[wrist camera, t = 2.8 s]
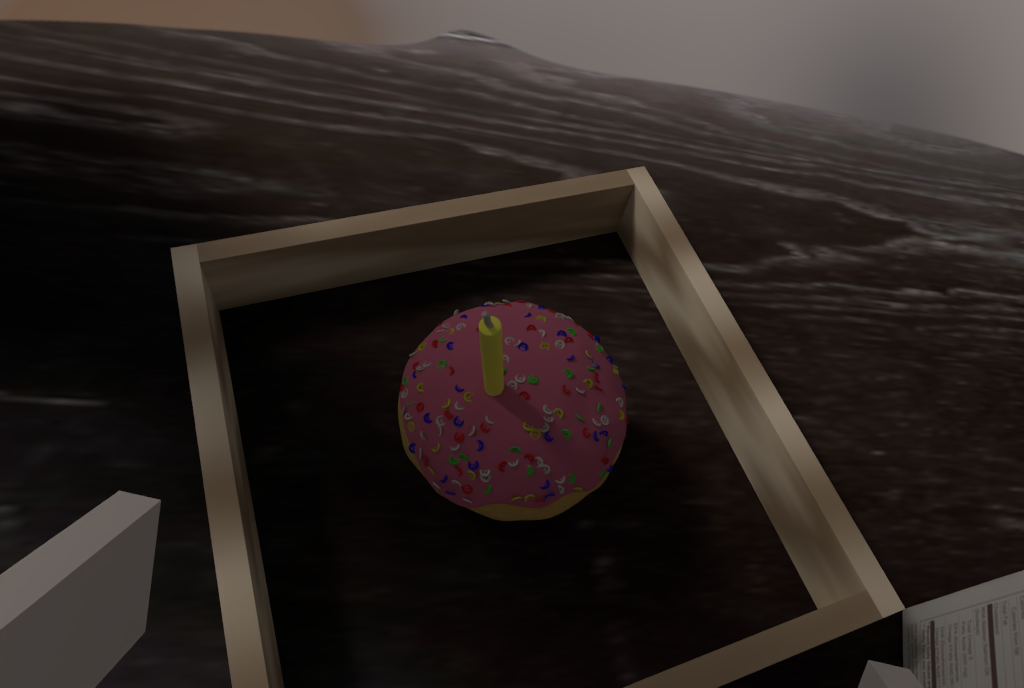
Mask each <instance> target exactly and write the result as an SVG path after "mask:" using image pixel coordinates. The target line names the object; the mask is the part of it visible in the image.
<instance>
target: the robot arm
mask: <svg viewBox="0 0 1024 688" xmlns="http://www.w3.org/2000/svg"><path fill="white" fill-rule="evenodd" d="M160 504H161V500H158V499H154V498H150V497H145V496H141V495H136V494H132V493H127V492H123V491H118V492H117V493H115V494H114V495H113V496H111V497H110V498H108V499H107V500H106V501H104V502H103V503H101V504H100V505H98V506H97V507H96V508H94V509H93V510H91V511H90V512H89V513H87V514H86V515H84V516H83V517H82V518H80V519H79V520H77V521H76V522H74V523H73V524H72V525H70V526H69V527H67V528H66V529H65V530H63V531H62V532H60V533H59V534H57V535H56V536H55V537H53V538H52V539H50V540H49V541H48V542H46V543H45V544H43V545H42V546H40V547H39V548H38V549H36V550H35V551H33V552H32V553H31V554H29V555H28V556H26V557H25V558H23V559H22V560H21V561H19V562H18V563H16V564H15V565H14V566H12V567H11V568H9V569H8V570H6V571H5V572H4V573H2V574H1V575H0V688H95V687H96V686H97V685H98V683H99V682H100V681H101V680H102V679H103V678H104V677H105V676H106V675H107V673H108V672H109V671H110V670H111V669H112V668H113V667H114V666H115V665H116V664H117V662H118V661H119V660H120V659H121V658H122V657H123V656H124V655H125V654H126V652H127V651H128V650H129V649H130V648H131V647H132V646H133V645H134V644H135V642H136V641H137V640H138V639H139V638H140V637H141V636H142V635H143V634H144V632H145V628H146V620H147V611H148V603H149V595H150V587H151V578H152V570H153V562H154V554H155V545H156V537H157V529H158V521H159V512H160ZM858 688H924V687H923V686H922V685H921V684H920V682H919V681H918V680H917V678H916V677H915V676H914V674H913V673H912V672H911V671H910V669H906V668H902V667H898V666H893V665H889V664H884V663H880V662H875V661H871V660H868V662H867V665H866V668H865V670H864V673H863V675H862V678H861V681H860V683H859V686H858Z"/></svg>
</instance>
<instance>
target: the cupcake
mask: <svg viewBox="0 0 1024 688" xmlns="http://www.w3.org/2000/svg"><path fill="white" fill-rule="evenodd" d="M502 301H503V302H505V303H495V304H493V303H492V302H486V303H485V304H484V305H481V307H477V308H473V309H470V310H467V311H464V312H461V313H459V310H455V312H454V316H452V317H451V318H449V319H447V320H445V321H444V322H442V323H440V324H438V326H437V327H436V328H435V329H434V330H433V331H432V332H431V333H430V334H429V336H428V337H427V338H426V339H425V340H424V341H423V342H422V343H421V344H420V345H419V347H418V348H417V349H416V350H415V352H413V353H411V354H410V355H409V356H411V357H410V359H409V360H408V362H407V364H406V367H405V370H404V373H403V378H402V384H401V386H400V393H399V400H398V419H399V426H400V431H401V437H402V442H403V446H404V449H405V452H406V454H407V456H408V457H409V459H410V460H411V462H412V463H413V464H414V465H415V466H416V468H417V469H418V470H419V471H420V472H421V473H422V475H423V476H424V477H425V478H426V479H427V481H428V482H429V483H430V485H431V486H432V487H433V489H434V490H435V491H436V492H437V493H439V494H440V495H442V496H443V497H445V498H447V499H448V500H450V501H451V502H453V503H455V504H457V505H460V506H462V507H466V508H468V509H470V510H472V511H474V512H476V513H479V514H481V515H484V516H486V517H489V518H491V519H495V520H500V521H515V520H542V519H547V518H551V517H554V516H556V515H558V514H560V513H562V512H564V511H566V510H567V509H569V508H570V507H572V506H573V505H575V504H577V503H578V502H579V501H581V500H582V499H583V498H584V497H585V496H587V495H588V494H589V493H591V492H592V491H594V490H596V489H597V488H599V487H600V486H601V485H602V484H603V483H604V481H605V480H606V478H607V476H608V474H609V473H610V472H611V471H612V470H613V465H614V463H615V462H616V460H617V458H618V456H619V454H620V451H621V448H622V444H623V441H624V439H625V435H626V427H627V424H628V423H629V422H628V418H627V416H626V398H625V392H624V388H625V389H627V388H626V387H625V386H623V384H622V381H621V378H620V376H619V372H618V370H617V369H618V367H616V366H615V365H613V360H612V358H611V357H610V356H608V355H607V353H606V352H605V351H604V349H603V348H602V347H601V345H600V344H599V343H600V338H599V337H598V336H597V335H595V336H594V338H593V336H592V335H591V334H590V333H588V332H587V331H585V330H584V329H583V328H582V327H581V326H579V325H578V324H577V323H575V322H574V321H573V319H572V318H570V317H568V316H567V317H566V316H565V315H563V314H561V313H557V312H554V311H552V310H550V309H546V308H545V307H544V306H542V305H539V306H538V305H535V304H532V303H529V302H525V301H517V302H509V301H506V300H502ZM486 304H488V305H486ZM490 304H491V305H490ZM456 312H457V313H456ZM455 314H456V315H455ZM596 337H597V339H596ZM597 340H598V342H597Z"/></svg>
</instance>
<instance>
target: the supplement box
mask: <svg viewBox="0 0 1024 688" xmlns="http://www.w3.org/2000/svg"><path fill="white" fill-rule="evenodd" d="M903 668H906V669H910V671H911V672H912V673H913V674H914V676H915V677H916V678H917V680H918V681H919V682H920V684H921V685H922V686H923V687H924V688H1024V570H1023V571H1020V572H1017V573H1014V574H1010V575H1007V576H1004V577H1001V578H998V579H995V580H992V581H989V582H986V583H983V584H980V585H977V586H974V587H971V588H968V589H965V590H961V591H958V592H955V593H952V594H949V595H946V596H943V597H940V598H937V599H934V600H931V601H928V602H925V603H921V604H918V605H915V606H912V607H909V608H906V609H904V610H903Z"/></svg>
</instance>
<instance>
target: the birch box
mask: <svg viewBox="0 0 1024 688" xmlns="http://www.w3.org/2000/svg"><path fill="white" fill-rule="evenodd" d="M616 231H617V233H618V235H619V237H620V238H621V240H622V242H623V244H624V246H625V248H626V250H627V252H628V253H629V255H630V257H631V259H632V261H633V263H634V265H635V267H636V268H637V270H638V272H639V274H640V276H641V278H642V280H643V282H644V283H645V285H646V287H647V289H648V291H649V293H650V295H651V297H652V299H653V300H654V302H655V304H656V306H657V308H658V310H659V312H660V314H661V315H662V317H663V319H664V321H665V323H666V325H667V327H668V329H669V330H670V332H671V334H672V336H673V338H674V340H675V342H676V344H677V345H678V347H679V349H680V351H681V353H682V355H683V357H684V359H685V361H686V362H687V364H688V366H689V368H690V370H691V372H692V374H693V376H694V377H695V379H696V381H697V383H698V385H699V387H700V389H701V391H702V392H703V394H704V396H705V398H706V400H707V402H708V404H709V406H710V407H711V409H712V411H713V413H714V415H715V417H716V419H717V421H718V423H719V424H720V426H721V428H722V430H723V432H724V434H725V436H726V438H727V439H728V441H729V443H730V445H731V447H732V449H733V451H734V453H735V454H736V456H737V458H738V460H739V462H740V464H741V466H742V468H743V469H744V471H745V473H746V475H747V477H748V479H749V481H750V483H751V485H752V486H753V488H754V490H755V492H756V494H757V496H758V498H759V500H760V501H761V503H762V505H763V507H764V509H765V511H766V513H767V515H768V516H769V518H770V520H771V522H772V524H773V526H774V528H775V530H776V531H777V533H778V535H779V537H780V539H781V541H782V543H783V545H784V547H785V548H786V550H787V552H788V554H789V556H790V558H791V560H792V562H793V563H794V565H795V567H796V569H797V571H798V573H799V575H800V577H801V578H802V580H803V582H804V584H805V586H806V588H807V590H808V592H809V593H810V595H811V597H812V599H813V601H814V603H815V605H816V607H817V609H818V610H815V611H813V612H810V613H808V614H805V615H803V616H800V617H798V618H795V619H793V620H790V621H788V622H785V623H783V624H780V625H778V626H775V627H773V628H770V629H768V630H765V631H763V632H760V633H758V634H756V635H753V636H751V637H748V638H746V639H743V640H741V641H738V642H736V643H733V644H731V645H728V646H726V647H723V648H721V649H718V650H716V651H713V652H711V653H708V654H706V655H703V656H701V657H698V658H696V659H693V660H691V661H688V662H686V663H683V664H681V665H678V666H676V667H673V668H671V669H668V670H666V671H663V672H661V673H658V674H656V675H653V676H651V677H648V678H646V679H643V680H641V681H638V682H636V683H633V684H631V685H628V686H626V687H623V688H717V687H720V686H722V685H724V684H727V683H729V682H732V681H734V680H736V679H739V678H741V677H744V676H746V675H748V674H751V673H753V672H756V671H758V670H760V669H763V668H765V667H767V666H770V665H772V664H775V663H777V662H779V661H782V660H784V659H787V658H789V657H791V656H794V655H796V654H799V653H801V652H803V651H806V650H808V649H810V648H813V647H815V646H818V645H820V644H822V643H825V642H827V641H830V640H832V639H834V638H837V637H839V636H842V635H844V634H846V633H849V632H851V631H853V630H856V629H858V628H861V627H863V626H865V625H868V624H870V623H873V622H875V621H877V620H880V619H882V618H885V617H887V616H889V615H892V614H894V613H896V612H899V611H901V610H904V609H905V607H904V606H903V604H902V602H901V600H900V599H899V597H898V595H897V594H896V592H895V590H894V589H893V587H892V585H891V584H890V582H889V580H888V578H887V577H886V575H885V573H884V572H883V570H882V568H881V567H880V565H879V563H878V561H877V560H876V558H875V556H874V555H873V553H872V551H871V550H870V548H869V546H868V545H867V543H866V541H865V539H864V538H863V536H862V534H861V533H860V531H859V529H858V528H857V526H856V524H855V522H854V521H853V519H852V517H851V516H850V514H849V512H848V511H847V509H846V507H845V506H844V504H843V502H842V500H841V499H840V497H839V495H838V494H837V492H836V490H835V489H834V487H833V485H832V483H831V482H830V480H829V478H828V477H827V475H826V473H825V472H824V470H823V468H822V467H821V465H820V463H819V461H818V460H817V458H816V456H815V455H814V453H813V451H812V450H811V448H810V446H809V445H808V443H807V441H806V439H805V438H804V436H803V434H802V433H801V431H800V429H799V428H798V426H797V424H796V422H795V421H794V419H793V417H792V416H791V414H790V412H789V411H788V409H787V407H786V406H785V404H784V402H783V400H782V399H781V397H780V395H779V394H778V392H777V390H776V389H775V387H774V385H773V383H772V382H771V380H770V378H769V377H768V375H767V373H766V372H765V370H764V368H763V367H762V365H761V363H760V361H759V360H758V358H757V356H756V355H755V353H754V351H753V350H752V348H751V346H750V344H749V343H748V341H747V339H746V338H745V336H744V334H743V333H742V331H741V329H740V328H739V326H738V324H737V322H736V321H735V319H734V317H733V316H732V314H731V312H730V311H729V309H728V307H727V306H726V304H725V302H724V300H723V299H722V297H721V295H720V294H719V292H718V290H717V289H716V287H715V285H714V283H713V282H712V280H711V278H710V277H709V275H708V273H707V272H706V270H705V268H704V267H703V265H702V263H701V261H700V260H699V258H698V256H697V255H696V253H695V251H694V250H693V248H692V246H691V244H690V243H689V241H688V239H687V238H686V236H685V234H684V233H683V231H682V229H681V228H680V226H679V224H678V222H677V221H676V219H675V217H674V216H673V214H672V212H671V211H670V209H669V207H668V205H667V204H666V202H665V200H664V199H663V197H662V195H661V194H660V192H659V190H658V189H657V187H656V185H655V183H654V182H653V180H652V178H651V177H650V175H649V173H648V172H647V170H646V168H645V166H644V167H638V168H632V169H627V170H621V171H615V172H609V173H603V174H598V175H592V176H586V177H580V178H574V179H569V180H563V181H557V182H551V183H546V184H540V185H534V186H528V187H522V188H517V189H511V190H505V191H499V192H493V193H488V194H482V195H476V196H470V197H464V198H459V199H453V200H447V201H441V202H435V203H430V204H424V205H418V206H412V207H406V208H401V209H395V210H389V211H383V212H378V213H372V214H366V215H360V216H354V217H349V218H343V219H337V220H331V221H325V222H320V223H314V224H308V225H302V226H296V227H291V228H285V229H279V230H273V231H267V232H262V233H256V234H250V235H244V236H239V237H233V238H227V239H221V240H215V241H210V242H204V243H198V244H192V245H186V246H181V247H175V248H171V255H172V262H173V269H174V277H175V284H176V291H177V298H178V305H179V312H180V319H181V326H182V333H183V341H184V348H185V355H186V362H187V369H188V376H189V383H190V390H191V398H192V405H193V412H194V419H195V426H196V433H197V440H198V447H199V454H200V462H201V469H202V476H203V483H204V490H205V497H206V504H207V511H208V518H209V526H210V533H211V540H212V547H213V554H214V561H215V568H216V575H217V583H218V590H219V597H220V604H221V611H222V618H223V625H224V632H225V639H226V647H227V654H228V661H229V668H230V675H231V682H232V688H284V683H283V677H282V671H281V665H280V660H279V654H278V648H277V642H276V636H275V631H274V625H273V619H272V613H271V608H270V602H269V596H268V590H267V584H266V579H265V573H264V567H263V561H262V556H261V550H260V544H259V538H258V532H257V527H256V521H255V515H254V509H253V504H252V498H251V492H250V486H249V480H248V475H247V469H246V463H245V457H244V452H243V446H242V440H241V434H240V428H239V423H238V417H237V411H236V405H235V400H234V394H233V388H232V382H231V376H230V371H229V365H228V359H227V353H226V348H225V342H224V336H223V330H222V324H221V319H220V313H219V310H224V309H229V308H234V307H239V306H244V305H249V304H254V303H260V302H265V301H270V300H275V299H280V298H285V297H290V296H295V295H300V294H305V293H310V292H315V291H320V290H325V289H330V288H335V287H340V286H345V285H350V284H355V283H360V282H365V281H370V280H375V279H380V278H385V277H390V276H395V275H400V274H405V273H410V272H415V271H420V270H425V269H430V268H435V267H440V266H445V265H450V264H455V263H460V262H465V261H470V260H475V259H480V258H485V257H491V256H496V255H501V254H506V253H511V252H516V251H521V250H526V249H531V248H536V247H541V246H546V245H551V244H556V243H561V242H566V241H571V240H576V239H581V238H586V237H591V236H596V235H601V234H606V233H611V232H616Z"/></svg>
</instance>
